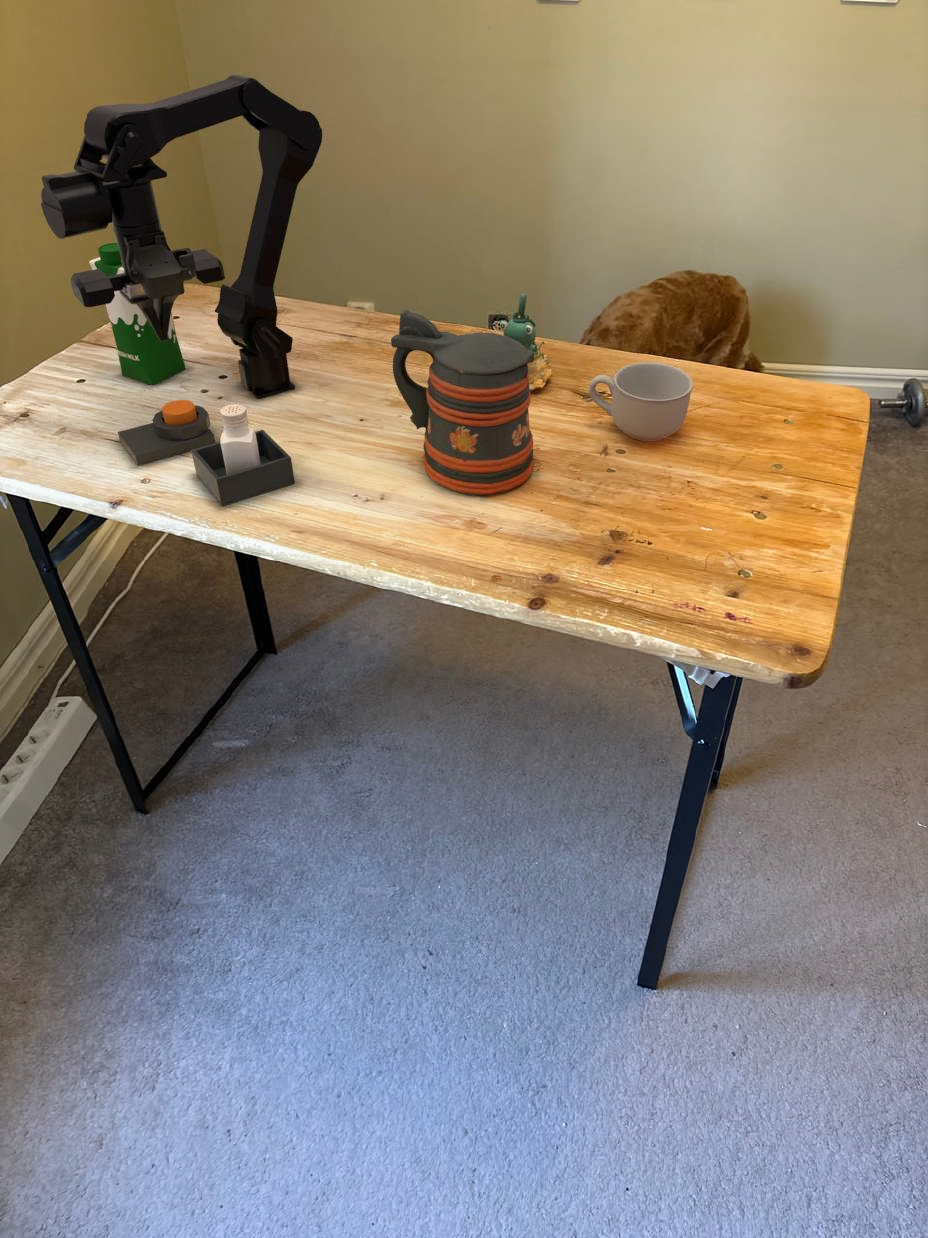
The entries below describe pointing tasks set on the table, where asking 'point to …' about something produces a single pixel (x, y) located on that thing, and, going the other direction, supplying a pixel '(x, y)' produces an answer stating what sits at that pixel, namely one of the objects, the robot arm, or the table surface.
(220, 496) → the dark grey open box
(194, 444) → the button base
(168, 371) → the milk carton
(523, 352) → the beer stein
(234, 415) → the pepper shaker
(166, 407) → the button
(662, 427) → the teacup
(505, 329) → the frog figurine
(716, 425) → the table surface
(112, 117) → the robot arm
